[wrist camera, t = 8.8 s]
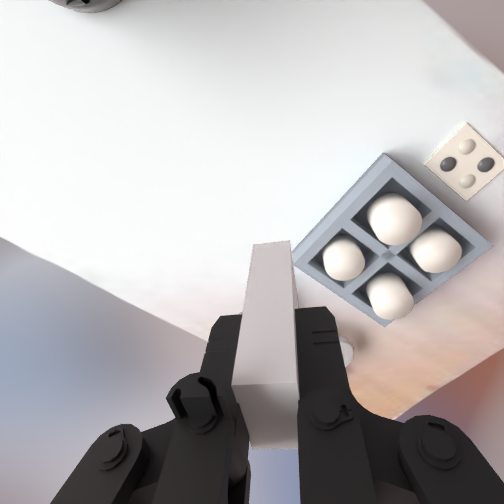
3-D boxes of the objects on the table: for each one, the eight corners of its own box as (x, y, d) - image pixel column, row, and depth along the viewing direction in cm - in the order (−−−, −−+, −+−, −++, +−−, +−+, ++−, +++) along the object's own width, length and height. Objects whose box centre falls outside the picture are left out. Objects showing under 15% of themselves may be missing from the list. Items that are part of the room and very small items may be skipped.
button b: (358, 289, 45) (364, 306, 42) (385, 266, 43) (394, 282, 40) (383, 307, 47) (391, 325, 43) (411, 285, 44) (422, 302, 41)
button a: (398, 244, 43) (408, 258, 40) (429, 217, 41) (442, 230, 38) (424, 264, 45) (436, 279, 41) (455, 238, 42) (471, 253, 39)
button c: (358, 216, 40) (365, 229, 36) (389, 184, 38) (399, 195, 34) (386, 238, 41) (396, 252, 38) (418, 209, 39) (432, 221, 35)
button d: (314, 252, 45) (316, 267, 42) (339, 227, 43) (344, 240, 40) (340, 271, 46) (345, 287, 43) (366, 247, 44) (373, 262, 41)
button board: (292, 250, 47) (293, 264, 43) (383, 152, 39) (392, 160, 35) (377, 310, 51) (384, 327, 47) (476, 232, 43) (493, 245, 39)
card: (423, 163, 39) (425, 164, 39) (465, 122, 36) (467, 123, 36) (465, 200, 41) (467, 201, 40) (508, 163, 38) (510, 164, 38)
